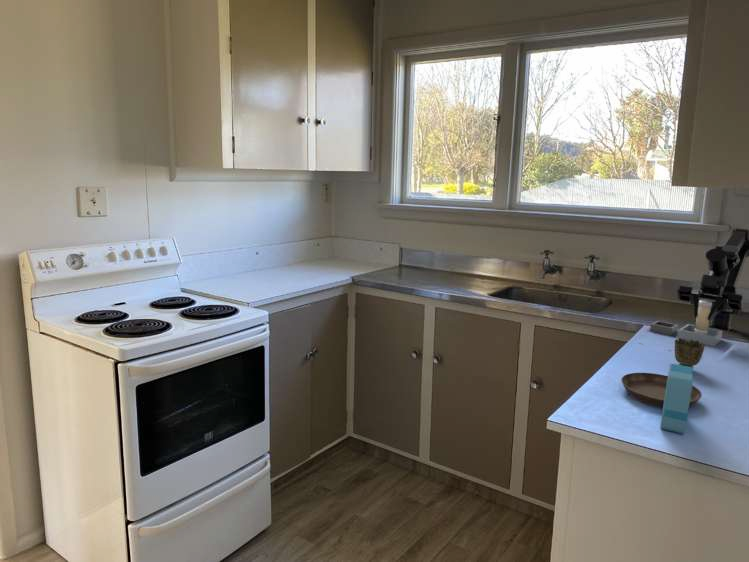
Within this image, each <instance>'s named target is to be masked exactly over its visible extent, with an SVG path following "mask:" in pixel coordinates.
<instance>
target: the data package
mask: <svg viewBox="0 0 749 562" xmlns="http://www.w3.org/2000/svg"><path fill="white" fill-rule="evenodd" d="M693 369H694V367H693V368H692V367H688V366H682V365H679V364H675V363H669V367H668V374H667V376H668V379H667V385H666V392H665V398H664V405H663V407H662V413H661V419H660V420H661V421H660V429H661V430H664V431H665V430H666V431H668V432H674V433H678V434H683V435H684V434H685V431H686V426H687V425H686V424H687V420H688V413H689V408H690V406H689V403H690V397H691V391H692V385H693V384H694V381H693V380H694V373H693V371H694V370H693Z"/></svg>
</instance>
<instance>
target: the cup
mask: <svg viewBox="0 0 749 562" xmlns="http://www.w3.org/2000/svg"><path fill="white" fill-rule="evenodd" d="M705 347H706V345H705V344H702V343H701V344H700V343H699V342H698V341H693V340H690V341H686V340H685V339H683V340H682V339H681V338H679V339H678V338H676V339H675V340H674V358H675V361H676V362H678V365H682V366H688V367H692V368H693V369H694V366H696V365H698V364H699V363H700V361H701V359H702V357H703V354H704V350H705Z"/></svg>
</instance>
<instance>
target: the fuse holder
mask: <svg viewBox="0 0 749 562" xmlns="http://www.w3.org/2000/svg"><path fill="white" fill-rule="evenodd" d="M645 332H648V333H653V334H658V335H663V336H666V337H671V338H675V337H678V333H679V324H675V323H671V322H666V321H662V320H656V321H654V322H652V323H650V326H649V328H648V329H647V330H645Z"/></svg>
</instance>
